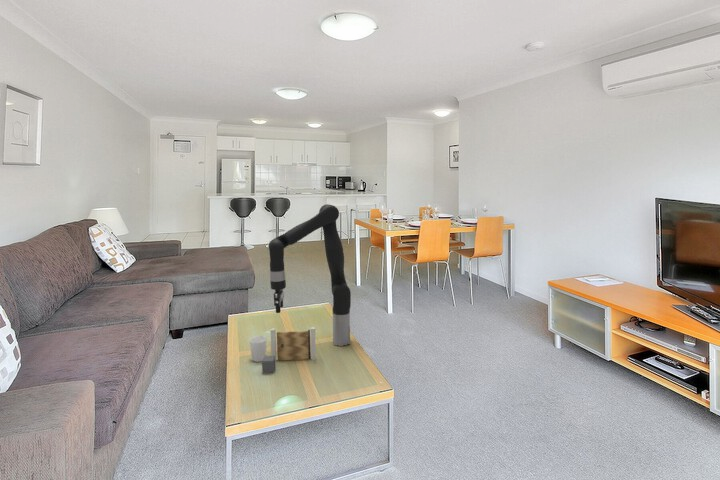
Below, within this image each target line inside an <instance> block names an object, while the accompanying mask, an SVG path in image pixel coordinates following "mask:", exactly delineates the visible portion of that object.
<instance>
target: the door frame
mask: <svg viewBox="0 0 720 480" xmlns="http://www.w3.org/2000/svg"><path fill="white" fill-rule="evenodd" d="M316 347H317V346H316V327H312V326H311V327H310V352H311V359H310V360H311V361H316V359H317V357H316V356H317V355H316V353H317V351H316ZM270 350H271V355H270V356H275V362H277V331H276V328H274V327H273V328H270Z"/></svg>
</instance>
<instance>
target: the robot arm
mask: <svg viewBox="0 0 720 480" xmlns="http://www.w3.org/2000/svg"><path fill="white" fill-rule="evenodd" d="M339 216H340V210H339V209H338V207H337V206H335V205H333V204H330V203H329V204H328V203H327V204H323V205H322V206H320V208H319V211H318V213H317V214H316V215H314V216H313V217H311V218H310V219H308V220H306V221H303V222H302V223H301V222H300V224H298V225H296V226H295V225H294V227H293V228H291V229H289V230H287V231H286V232H285V233H283V234H281V235H280V234H279V236H276V237H275V238H273V239H271V240H270V241H269V242H268V250H269V260H270V261H269V281H270V289H271V290H272V291H273V290H274V292H273V305H274V307H275V313H276V314H280V313H281V308H283V307H284V296H285V295H284V294H285V293H284V289H286V288H287V283H286V282H287V280H286V272H285V262H284V261H285V259H284V255H285V249H286V248H288V247H289V246H292V245H294V244H296V243H297V242H299V241H300V240H302V239H304V238H306V237H308V235H310V234H312V233H314V232H315V231H316V230H319V229H320V228H322V231H323V240H324V249H325V256H326V261H327V265H328V266H327V267H328V270H329V272H330V282H331V283H330V284H331V285H330V286H331V294H332V296H333V298H332V301H333V302H332V303H333V305H332V344H333V345H334V344H335V346H337V345H339V346H338V347H344V346H343V345H346V346H348V345H347V344H350V345H351V320H350V319H351V317H350V316H351V313H350V312H351V306H352V305H351V303H352V302H351V301H352V299H351V297H352V296H351V295H352V292H351V289H350V287H349V285H348V283H347V281H346V277H345V254H344V247H343V244H342V241H341V237H340V235H339V232H338V229H337V228H338V227H337V220H338V219H339Z"/></svg>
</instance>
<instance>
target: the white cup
mask: <svg viewBox="0 0 720 480" xmlns="http://www.w3.org/2000/svg"><path fill="white" fill-rule="evenodd" d="M267 339H268V338H267V337H266V336H263V335H262V336H261V335H260V336H254V337H253V336H252V338H250V339H249V344H250V353H251V354H250V355H251V360H252V361H253V362H256V363H257V362H262V360H263V358H264V356H267V348H268V347H267V346H268V345H267Z"/></svg>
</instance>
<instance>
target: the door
mask: <svg viewBox="0 0 720 480" xmlns="http://www.w3.org/2000/svg"><path fill="white" fill-rule="evenodd" d="M276 357H277V361H292V360H293V361H294V360H295V361H296V360H299V361H300V360H309V361H310V360H311V329H307V330H301V331H297V330H296V331H276Z"/></svg>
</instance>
